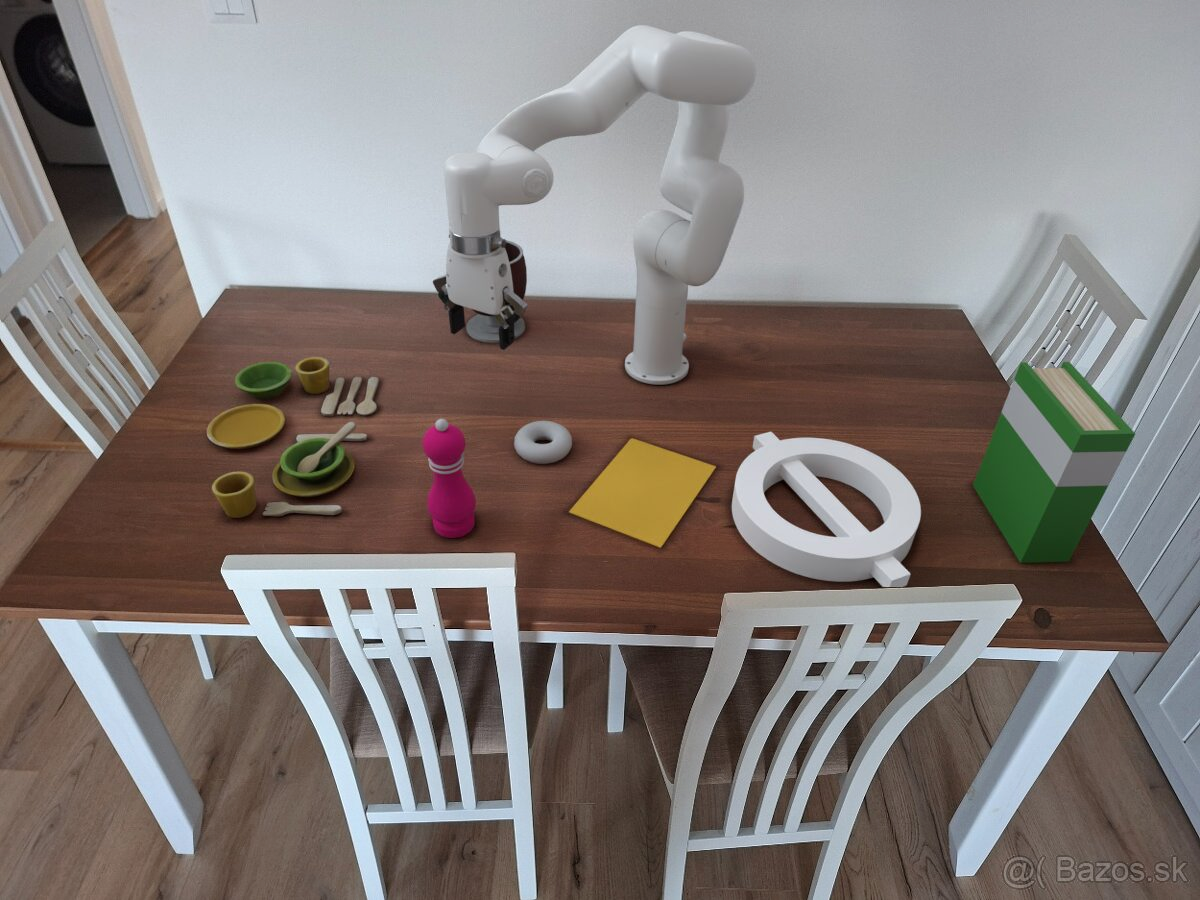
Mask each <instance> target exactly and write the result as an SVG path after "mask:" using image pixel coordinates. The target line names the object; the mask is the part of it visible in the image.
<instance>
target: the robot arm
mask: <svg viewBox="0 0 1200 900" xmlns="http://www.w3.org/2000/svg"><path fill="white" fill-rule="evenodd" d="M756 75H757V68H756V62H755V59H754V57H753V55H752V54H751V52H750V51H749V50H747V48H745V47H744V46H742V45H739V44H735V43H733V42H730V41H727V40H724V39H720V38H717V37H714V36H711V35H709V34H705V33H702V32H697V31H691V30H683V31H679V32H677V33H674V32H670V31H667V30H664V29H660V28H658V27H654V26H652V25H651V26H650V25H646V24H640V25H634V26H632V27H630V28H628V29H627V30H625V31H624V32H623V33H622V34H620V36H618V37H617V38H616V39H615V40H614V41H613V42H612V43H611V44H610V45H608V47H607V48H605V50H603V51H602V52H601V53H600V54H599V55H598V56H597V57H596V58H595V59H594V60H592V61H591V62H590V63H589V64H588V65H586V67H585V68H584V69H583V70H582V71H580V73H578V74H577V75H576V76H575V77H574V78H573V79H571V80H570V82H568V83H567V84H565V85H564V86H561V87H558V88H556V89H553V90H551V91H548V92H546V93H544V94H542V95H540V96H538V97H535V98H533V99H530V100H528V101H527V102H524V103H523V104H521V105H519V106H518V107H515V108H514V109H512V111H510V112H509V113H508V114H506V115H505V117H503V118H502V119H501V120H500V121H498V122H497V123H496V124H495V126H493V127H492V128H491V129H490V130H489V131H488V132H487V133H486V135H484V137H483V138H482V139H481V141H480V142H479V143H478V146H477V148H476V150H475V151H463V152H458V153H454V154H451V156H448V158H447V159H446V160H445V162H444V164H443V177H444V187H445V188H444V189H445V199H446V211H447V220H448V232H449V233H448V234H450V238H449V244H448V246H447V252H446V261H445V262H446V263H445V274H444V275H441V276H438V277H436V278H435V279H433V280H432V284H433V286H434V288H435V291H436V292H437V297H438V298H439V299H440V301H441V302H442V304H443V305H444V310H445V311H446V312H448V322H449V329H450V334H452V335H455V334H457V333H459V332H460V331H462V330H463V329H464V328H465V327H466V318H465V308H467V309H471V310H472V309H474V310H477V311H481V312H484V313H487V314H491V315H495V317H496V318H497V320H498V321H499V323H500V324H501V327H499V349H500V350H502V351H505V350H506V349H507V348H509V347H510V346H511V345H512V344H514V342H515V340H516V338H515V335H514V323H515V322H516V321H518V320H519V319H520V318H523V317H524V314H525V312H526V310H527V308H528V303H527V302H526V301H524V299H523V300H522V299H521V298H520V297H518V296H517V295H516V294H515V293H513V282H512V275H511V269H510V264H509V260H508V256H507V252H506V250H505V248H504V247H505V246H506V240H507V239H506V238H502V237H501V227H500V226H501V225H500V224H501V223H500V208H499V207H500V206H525V205H526V206H527V205H532V204H535V203H537V202H540V201H542V200H544V198H546V197H547V196H548V195H549V193H550V192H551V190H552V188H553V185H554V178H555V177H554V171H553V169H552V167H551V165H550V163H549V162H548V161H547V160H546V159H545V158H544V157H543V156H542V155H540V154H538V153H537V152H535V151H536V150H538V149H539V148H541V147H542V146H544V145H545V144H548V143H550V142H552V141H556V140H559V139H562V138H569V137H584V136H591V135H597V134H601V133H603V132H605V131H606V130H607V129H608V128H610V127H611V126H612V124H614V123H615V122H616V121H617V120H618V119H619V118H621V116H622V115H623V114H625V113H626V112H627V111H628V110H629V109H630V108H631V107H632V106H634V104H635V103H636V102H637V101H639V100H640V99H641V98H642V97H643V96H644V95H645V94H646V93H647V94H648V93H651V94H653V95H657V96H659V97H662V98H664V99H666V100H671V101H674V102H675V101H676V102H677V104H678V105H677V106H678V114H677V121H676V124H675V129H674V132H673V135H672V138H671V142H670V145H669V148H668V151H667V154H666V157H665V161H664V164H663V167H662V170H661V173H660V178H659V183H658V185H659V192H660V195H661V196H662V197H663V199H665V200H666V201H667V202H668V203H670V204H671V205H673V206H675V207H676V208H678V209H680V210H681V211H684V212H686V213H687V214H689V215H691V218H690V220H688V219H687V218H685V217H683V216H681V215H679V214H677V213H676V212H673V211H671V210H668V209H654V210H651V211H648V212H646V213H645V214H644V215H643V216H642V217H641V218H640V219H639V220H638V222H637V224H636V226H635V229H634V231H633V241H632V242H633V253H634V260H635V268H636V289H635V290H636V291H635V292H636V293H635V312H634V326H633V327H634V329H633V349H632V351H631V352H630V353H629V354H627V356H626V357H625V360H624V368H625V371H626V373H627V374H628V375H629V376H630V377H631V378H633V379H634V380H636V381H638V382H641V383H644V384H647V385H655V386H660V385H661V386H662V385H669V384H675V383H677V382H679V381H681V380H682V379H684V378H685V377H686V376H687V375H688V372H689V368H690V363H689V360H688V358H687V357H686V356H685V355H684V354H683V347H684V342H685V341H686V340H687V338H688V337H687V334H686V333H685V325H686V316H687V315H686V314H687V302H688V295H689V294H688V293H689V286H690V287H700V286H703V285H705V284H707V283H708V282H709V281H711V280H712V279H713V278H714V277H715V276H716V274H717V272H718V271H719V269H720V267H721V265H722V263H723V261H724V258H725V255H726V253H727V250H728V249H729V244H730V242H731V240H732V236H733V234H734V231H735V228H736V226H737V223H738V220H739V219H740V218H739V217H740V215H741V213H742V209H743V205H744V200H745V186H744V181H743V178H742V177H741V175H740V174H739V173H738V171H737V170H735V169H734V168H733V167H731V166H729V165H727V164H725V163H723V162H721V161H720V157H721V153H722V150H723V147H724V143H725V140H726V136H727V133H728V127H729V120H730V119H729V118H730V117H729V107H728V106H731V105H735V104H737V103H738V102H741V101H742V100H743V99H745V98H746V97H747V95H748V94H749V93H750V91H751V90H752V89H753V87H754V83H755V81H756ZM509 305H512V306H513V307H514V308H515V310H514V311H512V309H511V308H510V306H509ZM502 311H504V313H505V314H506V316H507V317H508V318H507V319H506V318H505V316H504V315H503V313H502Z"/></svg>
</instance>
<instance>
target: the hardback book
mask: <svg viewBox="0 0 1200 900" xmlns="http://www.w3.org/2000/svg"><path fill="white" fill-rule="evenodd" d="M998 417H999V418H997V419H998V420H997V422H996V425H995V428H994V429H993V432H992V435H991V438H990V439H989V443H988V445H987V448H986V450H985V453H984V456H983V458H982V461H981V462H980V463H981V464H980V466H979V468H978V471H977V473H976V476H975V479H974V481H973V484H972V487H973V488H974V490H975V491H976V493H977V495H978V496H979V498H980V499H981V501H982V503H983V505H984V506H985V508H986V509H987V511H988V513H989V515H990V516H991V518H992V519H993V521H994V522H995V524H996V525H997V527H998V530H999V531H1000V532H1001V534H1002V535H1003V538H1005V540H1006V542H1007V543H1008V545H1009V547H1010V549H1011V550H1012V551H1013V553H1014V555H1015V556H1016V558H1017V560H1018V561H1019V563H1021V564H1025V563H1026V564H1027V563H1028V564H1029V563H1030V564H1033V563H1066V562H1067V563H1068V562H1070V560H1071V558H1072V556H1073V554H1074V553H1075V551H1076V549H1077V547H1078V544H1079V543H1080V541H1081V539H1082V537H1083V535H1084V533H1085V531H1086V530H1087V528H1088V525H1089V524H1090V522H1091V520H1092V518H1093V516H1094V514H1095V512H1096V510H1097V509H1098V506H1099V504H1100V502H1101V501H1102V499H1103V497H1104V495H1105V493H1106V491H1107V489H1108V487H1109V486H1110V484H1111V482H1112V480H1113V478H1114V476H1115V474H1116V472H1117V470H1118V468H1119V466H1120V465H1121V462H1122V461H1123V459H1124V457H1125V455H1126V453H1127V451H1128V449H1129V448H1130V445H1131V443H1132V441H1133V439H1134V438H1135V436H1136V432H1135V431H1134V430H1133V429H1132V427H1130V426H1129V425H1128V424H1127V423H1126V421H1125V420H1123V418H1122V417H1121V416H1120V414H1118V413H1117V412H1116V411H1115V410H1114V409H1113V407H1112V406H1111V404H1109V403H1108V402H1107V401H1106V399H1104V398H1103V396H1102V395H1101V394H1100V393H1099V392H1098V390H1096V389H1095V388H1094V387H1093V386H1092V384H1090V382H1089V381H1088V380H1087V379H1086V378H1085V377H1084V376H1083V375H1082V373H1080V372H1079V371H1078V369H1077V368H1076V367H1075V366H1074V365H1073V364H1072V362H1070V361H1063V362H1062V364H1061V366H1060V367H1055V368H1054V367H1050V368H1049V367H1048V368H1047V367H1046V368H1045V367H1043V368H1041V367H1039V368H1037V367H1036V368H1033V367H1031V366H1030V364H1029V362H1026V361H1023V362H1020V363H1019V366H1018V368H1017V370H1016V373H1015V376H1014V379H1013V381H1012V384H1011V386H1010V388H1009V392H1008V394H1007V397H1006V399H1005V402H1004V404H1003V407H1002V410H1001V412H1000V415H999V416H998Z"/></svg>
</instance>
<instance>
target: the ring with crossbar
mask: <svg viewBox="0 0 1200 900" xmlns="http://www.w3.org/2000/svg"><path fill="white" fill-rule="evenodd" d="M752 450H754V451H753V452H751V453H750V454H748V456H746V457H745V459H744V460H743V461H742V462H741V464H740V466H739V467H738V470H737V472H736V475H735V480H734V486H733V494H732V501H731V515H732V519H733V522H734V525H735V527H736V529H737V530H738V532H739V534H740V535H741V537H742V538H743V540H744V541H745V542H746V543H747V544H748V545H749V546H750V547H751V548H752V549H753V550H754V551H755V552H756V553H757V554H758V555H760V556H761V557H763V558H764V559H766V560H767V561H769V562H770V563H772V564H774V565H775V566H777V567H779V568H782V569H784V570H785V571H787V572H790V573H793V574H796V575H800V576H802V577H806V578H809V579H815V580H820V581H826V582H840V583H841V582H843V583H845V582H858V581H864V580H868V579H869V580H870V579H872V578H874V579H875V581H876V582H877V583H878V584H879V585H880V586H881V587H882V588H883V587H901V588H903V587H906V586H907V585H908V582H909V580H910V577H911V572H910V571H908V569H906V567H905V566H904V565H903V564H902V562H903V561H904V560H905V559H906V557H907V556H908V554H909V553H910V550H911V548H912V544H913V542H914V539H915V536H916V533H917V530H918V528H919V526H920V525H919V524H920V522H921V516H922V509H921V507H922V506H921V501H920V499H919V496H918V494H917V491H916V490H915V488H914V486H913V484H912V483H911V482H910V481H909V479H907V477H906V476H905V475H904V474H903V473H902V472H901V471H900V470H899V469H898V468H896V467H895V466H894V465H893V464H891V463H890V462H888V461H887V460H885V459H884V458H883V457H880V456H879V455H877V454H875V453H874V452H871V451H870V450H867V449H866V448H865V449H864V448H862V447H860V446H857V445H853V444H851V443H848V442H844V441H839V440H834V439H828V438H821V437H794V438H785V439H781V440H780V439H779V438H778V437H777V436H776V435H775V434H774V433H773V431H767V432H764V433H760V434H756V435H754V436H753V442H752ZM817 477H820V478H827V479H831V480H834V481H837V482H841V483H842V484H843V483H844V484H845V485H848V486H850V487H852V488H854V489H855V490H857V491H859V492H861V493H862V494H863V495H865V496H866V497H867V498H868V499H869V500H871V502H873V504H874V505H875V507H876V508H877V509H878V511H879V512H880V514H881V517H882V520H883V524H881V525H880V526H879V527H877V528H876V529H873V530H872V531H869V529H868V528H867V527H865V526H864V525H863V524H862V522H860V520H858V518H856V516H854V514H853V513H852V512H851V511H850V510H849V509H848V508H847V507H846V506H845V505H844V504H843V503H842V502H841V501H840V500H839V499H838V498H837V497H836V496H835V495H834V494H833V493H832V492H831V491H830V490H829V489H828V488H827V487H826V486H825V485H824V484H823V483H822V482H821V481H820V480H819V478H817ZM781 481H784V482H785V483H786V484H787V485H788V486H789V487H790V488H791V489H792V490H793V491H794V492H795V493H796V495H797V496H798V497H799V498H800V499H801V500H802V501H803V502H804V503H805V504H806V505H807V506H808V508H810V509H811V511H812V512H813V513H814V514H815V515H816V516H817V517H818V518H819V519H820V521H822V522H823V523H824V525H825V526H826V527H827V528H828V529H829V530H830V531H831V532H832V533H833V534H834V535H835V536H829V535H823V534H818V533H816V532H815V533H814V532H811V531H808V530H806V529H802V528H801V527H798V526H797V525H794V524H792V523H791V522H789V521H787V520H786V519H785V518H783V517H782V516H781V515H779V514H778V513H777V512H776V511H775V510H774V509H773V507H772V506H771V505H770V503H769V502H768V500H767V498H766V496H765V492H766V491H767V490H768V489H769V488H770V487H772V486H773V485H775V484H776V483H779V482H781Z"/></svg>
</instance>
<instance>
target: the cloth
mask: <svg viewBox="0 0 1200 900" xmlns="http://www.w3.org/2000/svg"><path fill="white" fill-rule="evenodd" d="M716 468H717V466H716V465H713V464H710V463H707V462H704V461H702V460H698V459H695V458H692V457H689V456H686V455H684V454H680V453H677V452H675V451H671V450H668V449H665V448H662V447H660V446H656V445H654V444H651V443H649V442H645V441H642V440H639V439H635V438H633V437H631V438H630V439H629V440H628V441H627V443H626V444H625V445H624V446H623V447H622V449H620V451H619V452H617V454H616V455H615V457H613V459H612V460H611V461H610V463H608V465H607V466H606V467H605V468H604V469H603V470H602V471H601V473H600V474H599V475H598V477H596V479H595V480H594V481H593V482H592V484H591V485H590V486H589V487H588V489H587V490H586V491H585V492H584V493H583V495H581V497H580V498H579V499H578V500H577V501H576V503H574V505H573V506H572V507H571V508H570V510H569V511H568V514H571V515H574V516H576V517H579V518H581V519H584V520H587V521H589V522H591V523H594V524H597V525H599V526H603V527H604V528H606V529H610V530H612V531H615V532H618V533H621V534H624V535H626V536H628V537H630V538H633V539H635V540H638V541H641V542H643V543H646V544H648V545H650V546H651V545H652V546H654V547H656V548H659V549H662V547H663V546H664V544H665V543H666V541H667V540H668V539H669V536H671V534H672V533H673V531H674V530H675V528H676V527H677V525H678V524H679V522H680V521H681V520H682V518H683V516H684V515H685V514H686V512H687V511H688V509H689V508H690V506H691V505H692V504H693V502H694V500H695V499H696V498H697V496H698V495H699V493H700V492H701V490H702V489H703V487H704V486H705V484H706V483H707V482H708V480H709V478H710V477H711V475H712V474H713V472H714V471H715V470H716Z"/></svg>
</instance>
